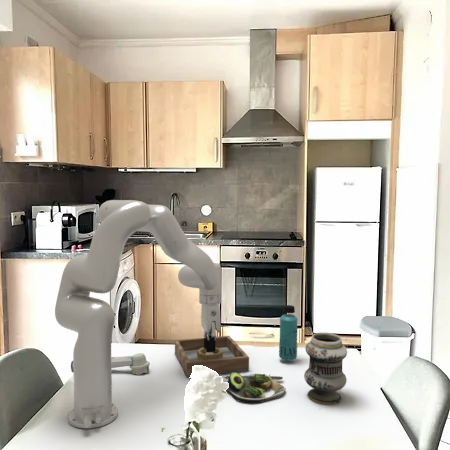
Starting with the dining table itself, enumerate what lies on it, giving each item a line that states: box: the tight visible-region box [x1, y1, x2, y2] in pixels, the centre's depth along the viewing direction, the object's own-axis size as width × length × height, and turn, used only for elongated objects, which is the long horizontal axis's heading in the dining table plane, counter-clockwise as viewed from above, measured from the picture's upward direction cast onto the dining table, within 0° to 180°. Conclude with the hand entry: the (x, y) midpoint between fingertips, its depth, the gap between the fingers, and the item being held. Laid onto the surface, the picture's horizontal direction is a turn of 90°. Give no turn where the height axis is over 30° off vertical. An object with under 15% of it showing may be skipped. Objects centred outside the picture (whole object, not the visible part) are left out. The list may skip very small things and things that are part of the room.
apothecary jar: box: [303, 332, 348, 405], centre depth 127 cm, size 12×12×18 cm
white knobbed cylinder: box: [70, 353, 151, 376], centre depth 144 cm, size 5×7×25 cm
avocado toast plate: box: [223, 372, 286, 404], centre depth 133 cm, size 19×18×5 cm
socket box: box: [174, 335, 250, 379], centre depth 153 cm, size 23×21×5 cm
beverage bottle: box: [278, 304, 299, 361], centre depth 154 cm, size 6×7×20 cm
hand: (209, 349), depth 153 cm, fingers open, 2 cm apart
